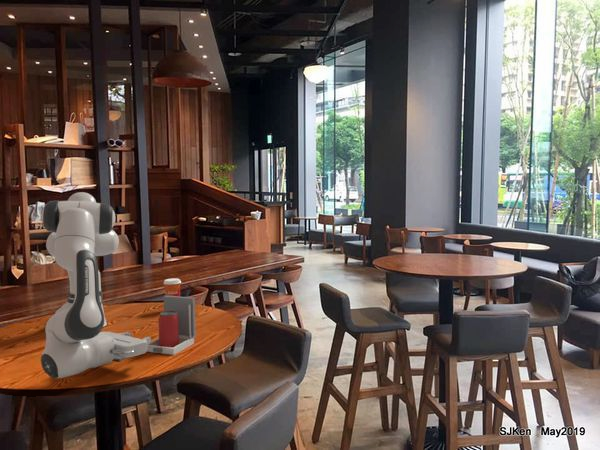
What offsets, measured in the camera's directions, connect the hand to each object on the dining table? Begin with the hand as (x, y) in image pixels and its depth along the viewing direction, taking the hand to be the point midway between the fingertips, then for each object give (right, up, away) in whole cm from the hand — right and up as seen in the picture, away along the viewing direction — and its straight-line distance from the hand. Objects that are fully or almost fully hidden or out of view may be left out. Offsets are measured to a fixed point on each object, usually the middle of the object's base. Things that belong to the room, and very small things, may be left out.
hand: (139, 337), depth 150 cm
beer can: (+6, -6, +11) cm, 14 cm away
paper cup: (-6, -3, +61) cm, 61 cm away
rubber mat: (-9, -7, +6) cm, 13 cm away
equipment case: (+6, -6, +11) cm, 14 cm away
